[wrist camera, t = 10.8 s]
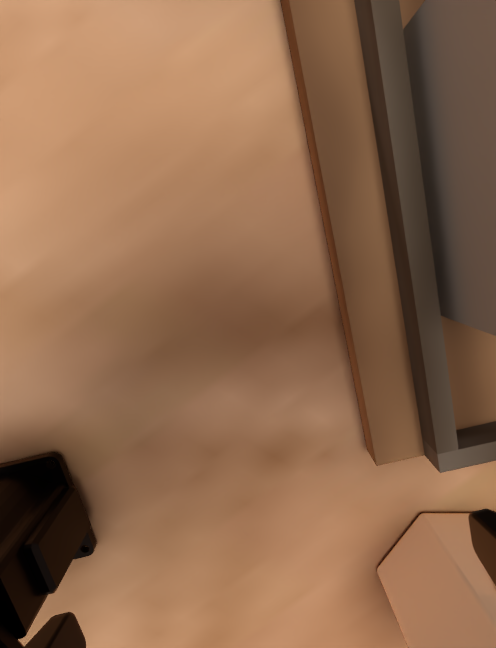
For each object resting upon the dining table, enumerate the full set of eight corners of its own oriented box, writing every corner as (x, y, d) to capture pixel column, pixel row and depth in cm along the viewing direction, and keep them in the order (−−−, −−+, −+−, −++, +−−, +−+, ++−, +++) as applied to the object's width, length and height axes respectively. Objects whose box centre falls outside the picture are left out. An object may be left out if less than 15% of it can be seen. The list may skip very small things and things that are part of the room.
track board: (367, 450, 21) (387, 484, 18) (258, -113, 15) (263, -199, 12) (565, 404, 20) (620, 432, 17) (530, -191, 15) (603, -300, 12)
